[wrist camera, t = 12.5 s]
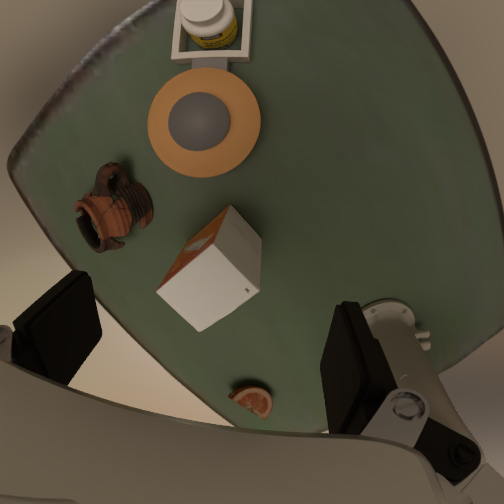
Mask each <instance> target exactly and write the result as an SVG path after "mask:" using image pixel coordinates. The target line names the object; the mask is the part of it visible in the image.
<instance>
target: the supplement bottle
mask: <svg viewBox="0 0 504 504" xmlns="http://www.w3.org/2000/svg"><path fill="white" fill-rule="evenodd" d="M180 11H181V15H180V20H181V24H182V26H183V27H184V29H185V30H186V31H187V32H188V34H189V35H190V36H191V37H192V39H193V40H194V41H195V42H196V43H197V44H198V45H199V46H200V47H202V48H203V49H206V50H209V51H214V50H222V49H225V48H227V47H229V46H230V45H231V44H232V43H233V42H234V41H235V40H236V38H237V35H238V25H237V21H236V17H235V13H234V9H233V6H232V4H231V3H230V2H229V0H182V2H181V5H180Z"/></svg>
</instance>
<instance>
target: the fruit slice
mask: <svg viewBox="0 0 504 504" xmlns="http://www.w3.org/2000/svg"><path fill="white" fill-rule="evenodd" d="M228 397H229V398H231V399H232V400H233V401H235V402H237V403H238V404H240V405H241V406H243V407H245V408H246V409H248V410H249V411H251V413H254V414H255V415H257V416H259V417H260V418H262V419H264V420H265V419H266V418H267V417H268V415H269V414H270V412H271V410H272V406H273V401H272V398H271V396H270V394H269V393H268V392H267V391H266V390H264V389H262V388H260V387H257V386H245V387H242V388H239V389H236V390H234V391H233V392H232V393H230V394H229V395H228Z"/></svg>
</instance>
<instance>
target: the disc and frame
mask: <svg viewBox="0 0 504 504" xmlns="http://www.w3.org/2000/svg"><path fill="white" fill-rule="evenodd" d="M181 2H182V0H177V6H176V14H175V23H174V33H173V43H172V55H171V60H173V61H174V62H176V63H177V64H188V63H192V69H191V70H188V71H185V72H182V73H180V74H179V75H177V76H175V77H174V78H172V79H171V80H169V81H168V82H167V83H166V84H165V85H164V86H163V87H162V88H161V89H160V90H159V92H158V93H157V95H156V96H155V98H154V100H153V102H152V105H151V108H150V111H149V116H148V133H149V138H150V141H151V144H152V147H153V149H154V151H155V152H156V154H157V155H158V157H159V158H160V159H161V160H162V161H163V162H164V163H165V164H166V165H167V166H168V167H170V168H171V169H173V170H175V171H176V172H178V173H181V174H184V175H186V176H191V177H199V178H203V177H213V176H217V175H220V174H223V173H225V172H228V171H230V170H231V169H233V168H235V167H236V166H237V165H239V164H240V163H241V162H242V161H243V160H244V159H245V158H246V157H247V156H248V154H249V153H250V152H251V150H252V149H253V147H254V145H255V143H256V141H257V139H258V136H259V133H260V127H261V116H260V110H259V107H258V103H257V100H256V98H255V96H254V94H253V93H252V91H251V90H250V88H249V87H248V86H247V85H246V84H245V83H244V82H243V81H242V80H241V79H240V78H238V77H237V76H235V75H234V74H232V73H230V72H229V71H230V62H246V63H250V46H251V29H252V13H253V0H229V2H230V3H231V4H232V6H233V8H244V14H243V29H242V45H241V50H214V51H192V52H186V41H187V31H186V30H185V29H184V27H183V26H182V24H181V20H180V15H181V11H180V5H181Z"/></svg>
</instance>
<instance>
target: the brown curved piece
mask: <svg viewBox="0 0 504 504" xmlns="http://www.w3.org/2000/svg"><path fill="white" fill-rule="evenodd" d="M112 174H113V175H114V177H113V178H111V179H109V178H110V176H111V175H112ZM93 194H94V196H92V193H91V192H89V193H87V194H85V195H84V196H83V198H82V200H78V201H77V202H76V203H75V212H79V211H81V215H82V216H81V217H78V218H76V222H77V225H78V228H79V230H80V232H81V234H82V236H83V238H84V239H85V240H86V242H87V243H88V245H89V246H90V247H91V248H92V249H93V250H94V251H95V252H97V253H102V252H104V251H106V250H115V249H118V248H122V247H123V246H124V245H125V242H119V241H116V240H115V239H114V238H113V237H121V236H126V235H127V234H128V233H129V232H130V230H131V226H134V225H135V224H136V223H137V222H138V221H139V220H140V228H141V229H144V228H145V227H146V226H147V225H148V224H149V223H150V222H151V221H152V217H153V212H152V205H151V201H150V198H149V196H148V193H147V192H146V190H145V189H144V188H143V186H142V185H141V184H140V183H136V184H130V181H129V179H128V178H127V175H126V172H125V170H124V169H123V167H122V166H121V165H119V164H118V163H112V162H109V163H107V164H105V165H103V166H102V167H101V168H100V169H99V171H98V172H97V175H96V182H95V187H94V188H93ZM114 194H115V195H119V198H118V199H117V200H116V201H114V199H113V197H112V196H113V195H114ZM91 218H92V219H93V221H94V223H95V225H96V226H97V230H98V233H99V236H100V238H98V234H97V232H96V231H95V229H94V228H93V226H92V223H91Z"/></svg>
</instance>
